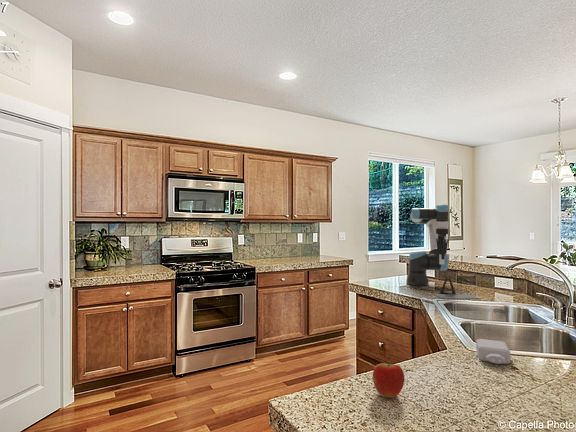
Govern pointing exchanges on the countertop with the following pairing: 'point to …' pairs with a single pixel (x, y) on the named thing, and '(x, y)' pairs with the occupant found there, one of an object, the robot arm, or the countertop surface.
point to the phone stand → (450, 284)
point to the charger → (493, 351)
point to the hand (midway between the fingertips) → (441, 264)
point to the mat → (455, 296)
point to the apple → (388, 379)
